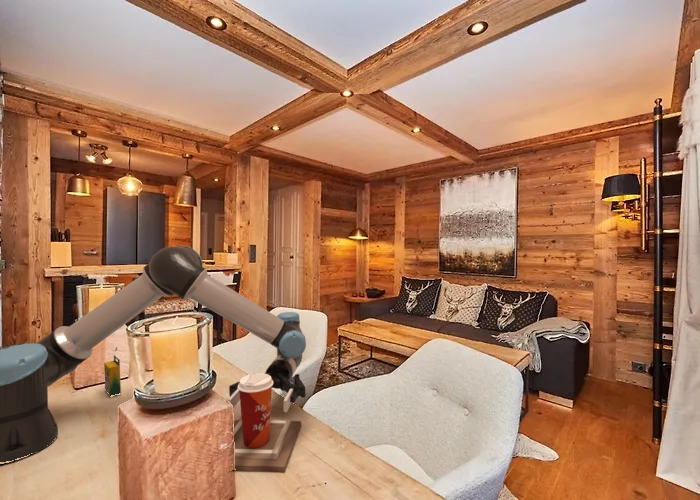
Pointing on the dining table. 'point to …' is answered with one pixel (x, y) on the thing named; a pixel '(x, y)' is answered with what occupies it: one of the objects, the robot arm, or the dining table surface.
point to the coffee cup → (255, 408)
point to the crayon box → (112, 376)
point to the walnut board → (267, 448)
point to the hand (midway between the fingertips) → (257, 405)
